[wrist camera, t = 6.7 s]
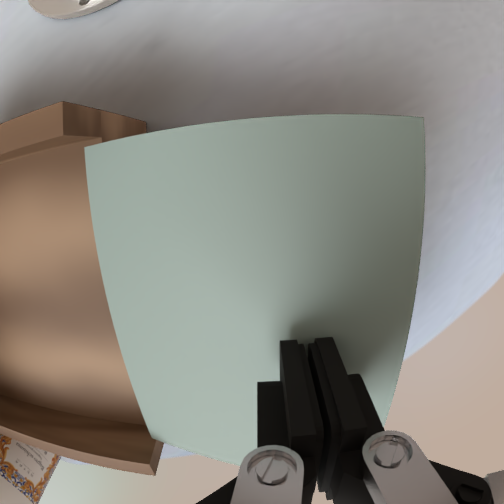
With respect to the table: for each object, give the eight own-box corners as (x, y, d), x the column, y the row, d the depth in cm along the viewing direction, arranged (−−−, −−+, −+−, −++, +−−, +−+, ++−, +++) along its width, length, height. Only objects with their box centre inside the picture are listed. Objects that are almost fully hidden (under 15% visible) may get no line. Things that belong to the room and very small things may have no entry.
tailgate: (84, 147, 10) (423, 117, 7) (115, 145, 12) (412, 123, 8) (151, 437, 15) (361, 484, 11) (167, 418, 16) (365, 456, 13)
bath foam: (92, 422, 24) (20, 588, 5) (56, 431, 25) (-12, 565, 6) (45, 369, 22) (-65, 530, 3) (14, 384, 23) (-78, 513, 4)
